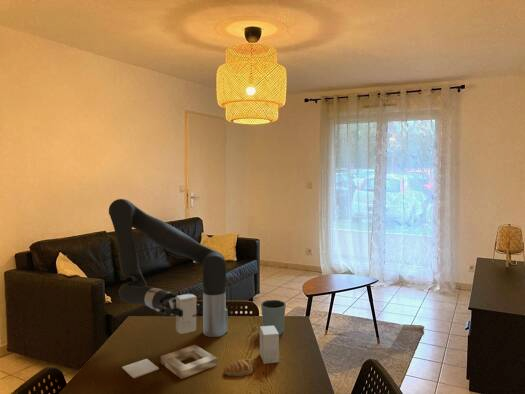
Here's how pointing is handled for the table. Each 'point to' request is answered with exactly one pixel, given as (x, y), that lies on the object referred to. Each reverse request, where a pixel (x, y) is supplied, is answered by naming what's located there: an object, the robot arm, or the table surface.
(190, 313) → the skincare box
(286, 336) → the table surface
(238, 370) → the pastry
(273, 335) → the small box
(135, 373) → the white pad
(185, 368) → the socket block
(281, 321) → the grey green cup
